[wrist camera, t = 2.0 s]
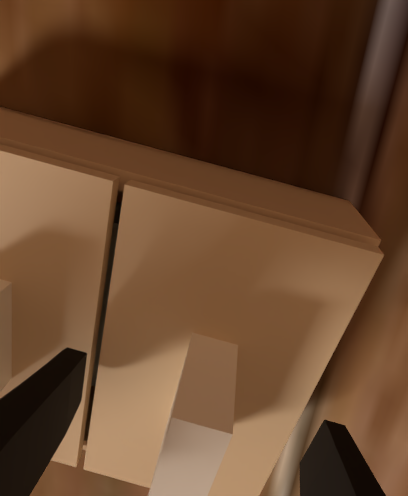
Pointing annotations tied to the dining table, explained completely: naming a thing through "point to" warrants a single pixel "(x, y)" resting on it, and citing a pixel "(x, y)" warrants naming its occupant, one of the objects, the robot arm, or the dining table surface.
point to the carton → (177, 186)
